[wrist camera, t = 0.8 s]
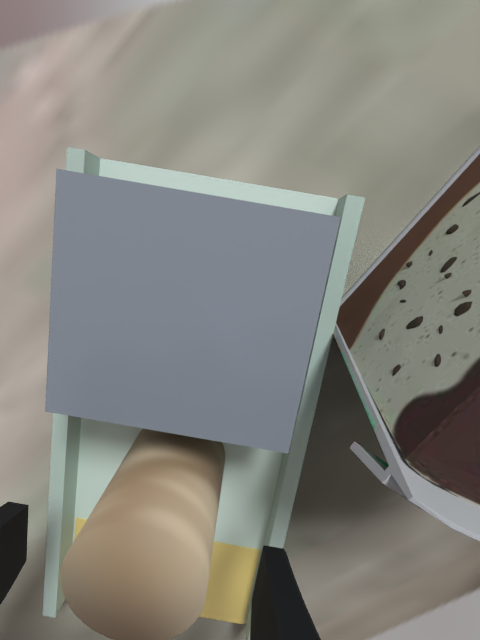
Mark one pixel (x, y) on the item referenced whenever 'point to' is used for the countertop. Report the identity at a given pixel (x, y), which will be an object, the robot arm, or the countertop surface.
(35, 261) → the countertop surface
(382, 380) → the food container
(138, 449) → the roller pin
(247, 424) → the slab
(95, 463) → the runway
